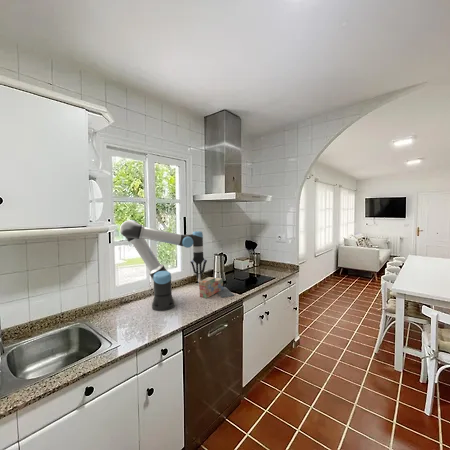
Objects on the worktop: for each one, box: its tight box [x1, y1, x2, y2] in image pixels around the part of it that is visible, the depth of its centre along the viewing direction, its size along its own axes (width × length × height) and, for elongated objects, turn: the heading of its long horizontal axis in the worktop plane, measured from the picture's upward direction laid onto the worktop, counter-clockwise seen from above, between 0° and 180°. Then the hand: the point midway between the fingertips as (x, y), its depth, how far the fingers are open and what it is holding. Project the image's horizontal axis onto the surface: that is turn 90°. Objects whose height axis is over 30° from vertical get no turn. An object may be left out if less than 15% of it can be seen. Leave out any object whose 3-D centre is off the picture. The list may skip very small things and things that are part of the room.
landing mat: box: [216, 286, 235, 298], centre depth 198 cm, size 10×22×1 cm, turn 18°
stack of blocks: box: [198, 276, 224, 299], centre depth 195 cm, size 21×6×12 cm, turn 143°
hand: (199, 282), depth 191 cm, fingers closed
